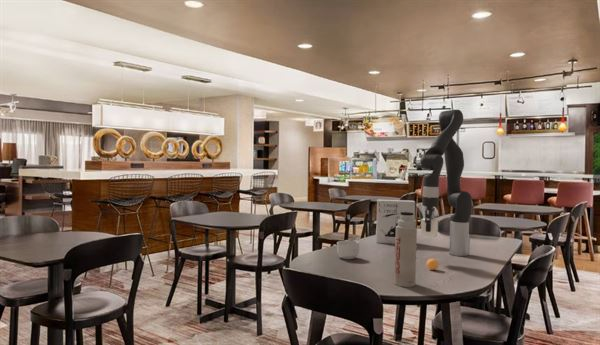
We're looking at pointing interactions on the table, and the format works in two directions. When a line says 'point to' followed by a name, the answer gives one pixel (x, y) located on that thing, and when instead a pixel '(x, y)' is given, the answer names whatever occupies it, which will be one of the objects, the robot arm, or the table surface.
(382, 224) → the cereal box
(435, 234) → the cream colored box
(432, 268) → the ball
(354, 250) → the teacup
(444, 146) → the robot arm
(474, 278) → the table surface
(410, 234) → the thermos bottle
